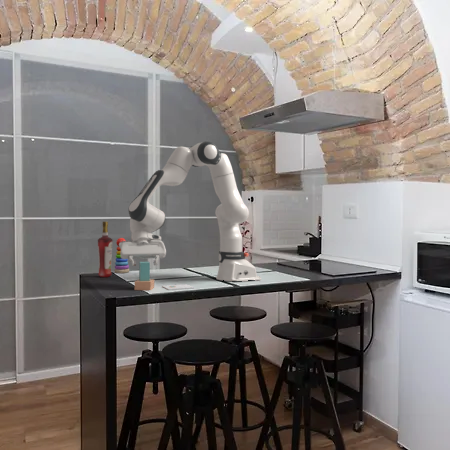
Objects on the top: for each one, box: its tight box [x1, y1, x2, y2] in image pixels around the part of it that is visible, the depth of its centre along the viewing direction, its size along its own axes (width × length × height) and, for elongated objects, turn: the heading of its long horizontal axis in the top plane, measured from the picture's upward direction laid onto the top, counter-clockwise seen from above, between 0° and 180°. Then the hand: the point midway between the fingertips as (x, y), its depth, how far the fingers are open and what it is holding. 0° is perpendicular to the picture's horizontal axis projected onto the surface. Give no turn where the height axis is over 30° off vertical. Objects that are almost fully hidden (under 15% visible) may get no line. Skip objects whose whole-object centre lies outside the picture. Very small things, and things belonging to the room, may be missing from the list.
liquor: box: [97, 221, 114, 278], centre depth 240 cm, size 7×7×28 cm
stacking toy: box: [114, 237, 130, 274], centre depth 257 cm, size 8×8×19 cm
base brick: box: [134, 278, 155, 292], centre depth 208 cm, size 7×7×4 cm
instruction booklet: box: [161, 283, 195, 291], centre depth 213 cm, size 12×9×1 cm
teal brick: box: [138, 261, 151, 281], centre depth 209 cm, size 4×4×8 cm
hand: (145, 264), depth 209 cm, fingers open, 8 cm apart
